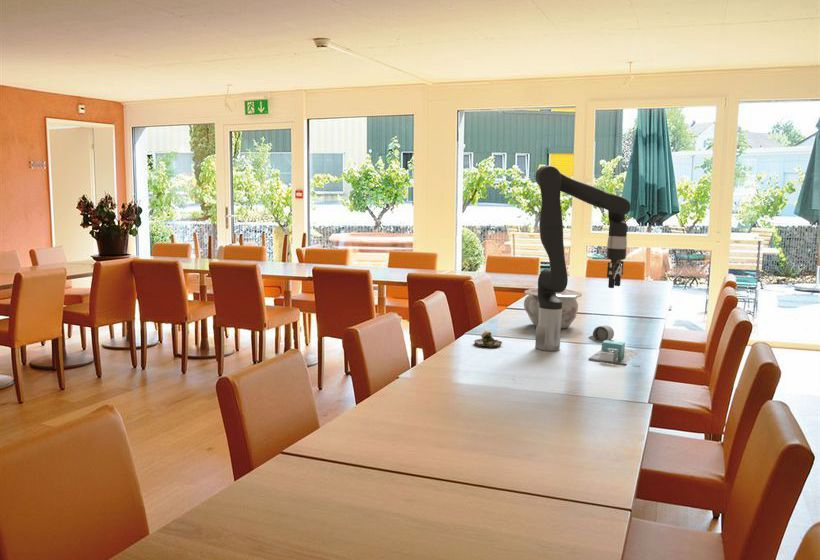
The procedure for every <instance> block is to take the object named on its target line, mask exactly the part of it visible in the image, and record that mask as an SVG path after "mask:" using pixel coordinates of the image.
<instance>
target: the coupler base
mask: <svg viewBox="0 0 820 560" xmlns="http://www.w3.org/2000/svg"><path fill="white" fill-rule="evenodd" d="M601 351H602V350H599V351H597V352H595V354H593V355H591V356H590V357H588V361H589V362H595V363H596V362H597V363H602V364H609V365H615V366H620V367H621V366H622V367H626V366H627V365H628V362H630V361H631V360H632V359H633V358H634V357H636V356H637V355H638V354H640V353H641V352H642V351H641V350H636V349H629V348H625V350H624V358H623V359H621V360H618V349H611V348H608V350H606V351H605V352H601Z"/></svg>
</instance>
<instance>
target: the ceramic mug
mask: <svg viewBox="0 0 820 560" xmlns="http://www.w3.org/2000/svg"><path fill="white" fill-rule="evenodd" d="M614 336H615V332H614V329H613V327H612V326H609V325H599V326H597V327H595V328H594V329H593V331H592V335H590V336H588V338H589V339H591V340H594V341H597V340H600V341H602V342H603V341H605V340H609V341H612V339H613V338H614Z"/></svg>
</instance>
